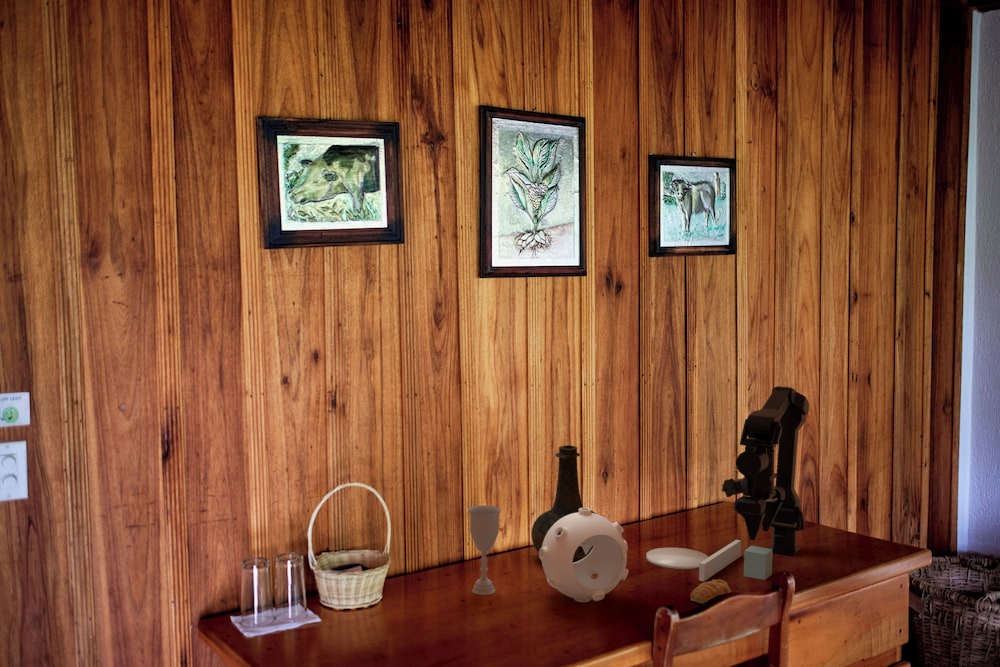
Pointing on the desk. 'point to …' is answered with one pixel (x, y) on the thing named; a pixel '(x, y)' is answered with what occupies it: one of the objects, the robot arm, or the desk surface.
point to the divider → (719, 560)
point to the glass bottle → (562, 499)
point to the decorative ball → (601, 560)
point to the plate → (676, 558)
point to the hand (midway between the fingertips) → (759, 535)
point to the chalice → (484, 540)
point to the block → (758, 562)
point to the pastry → (709, 590)
